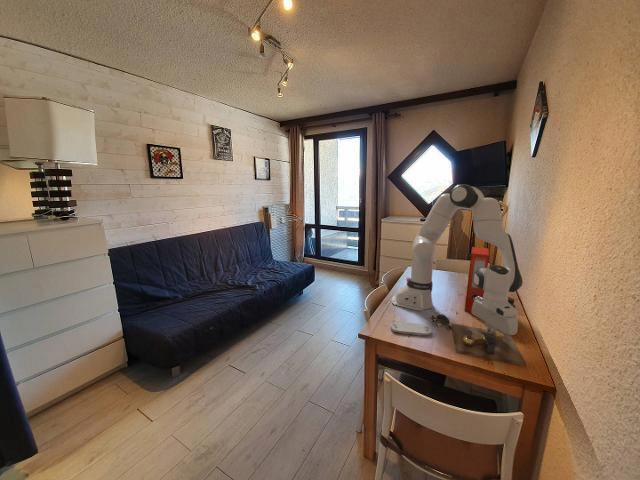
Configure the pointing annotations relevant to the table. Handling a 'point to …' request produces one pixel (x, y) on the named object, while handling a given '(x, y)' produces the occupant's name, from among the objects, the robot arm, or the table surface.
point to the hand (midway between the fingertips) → (490, 333)
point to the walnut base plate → (502, 352)
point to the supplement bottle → (511, 302)
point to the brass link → (479, 338)
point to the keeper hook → (490, 342)
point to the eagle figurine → (441, 320)
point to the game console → (411, 328)
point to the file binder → (477, 261)
